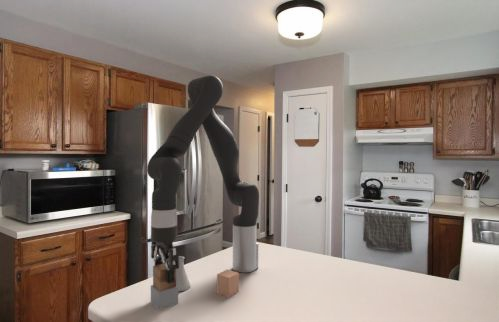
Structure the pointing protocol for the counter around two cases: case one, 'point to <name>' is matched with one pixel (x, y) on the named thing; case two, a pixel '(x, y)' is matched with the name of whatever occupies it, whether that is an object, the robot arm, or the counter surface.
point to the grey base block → (164, 297)
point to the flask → (182, 276)
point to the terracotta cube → (227, 283)
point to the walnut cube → (161, 278)
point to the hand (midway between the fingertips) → (164, 278)
